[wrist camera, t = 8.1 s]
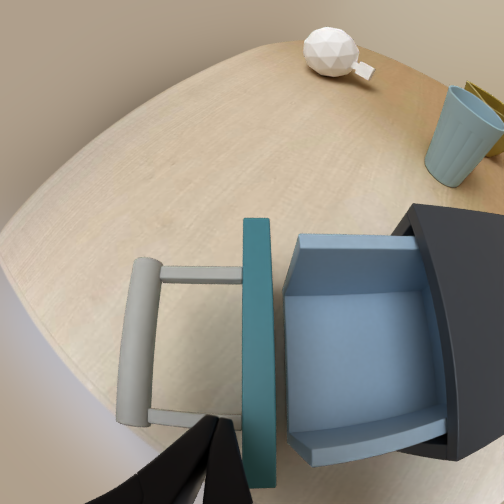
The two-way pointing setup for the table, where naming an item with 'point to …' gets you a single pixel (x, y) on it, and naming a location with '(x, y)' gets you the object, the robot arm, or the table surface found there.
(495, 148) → the flower pot
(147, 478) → the robot arm
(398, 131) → the table surface
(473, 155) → the cup
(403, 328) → the teal drawer
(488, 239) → the drawer cabinet
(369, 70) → the perfume bottle
